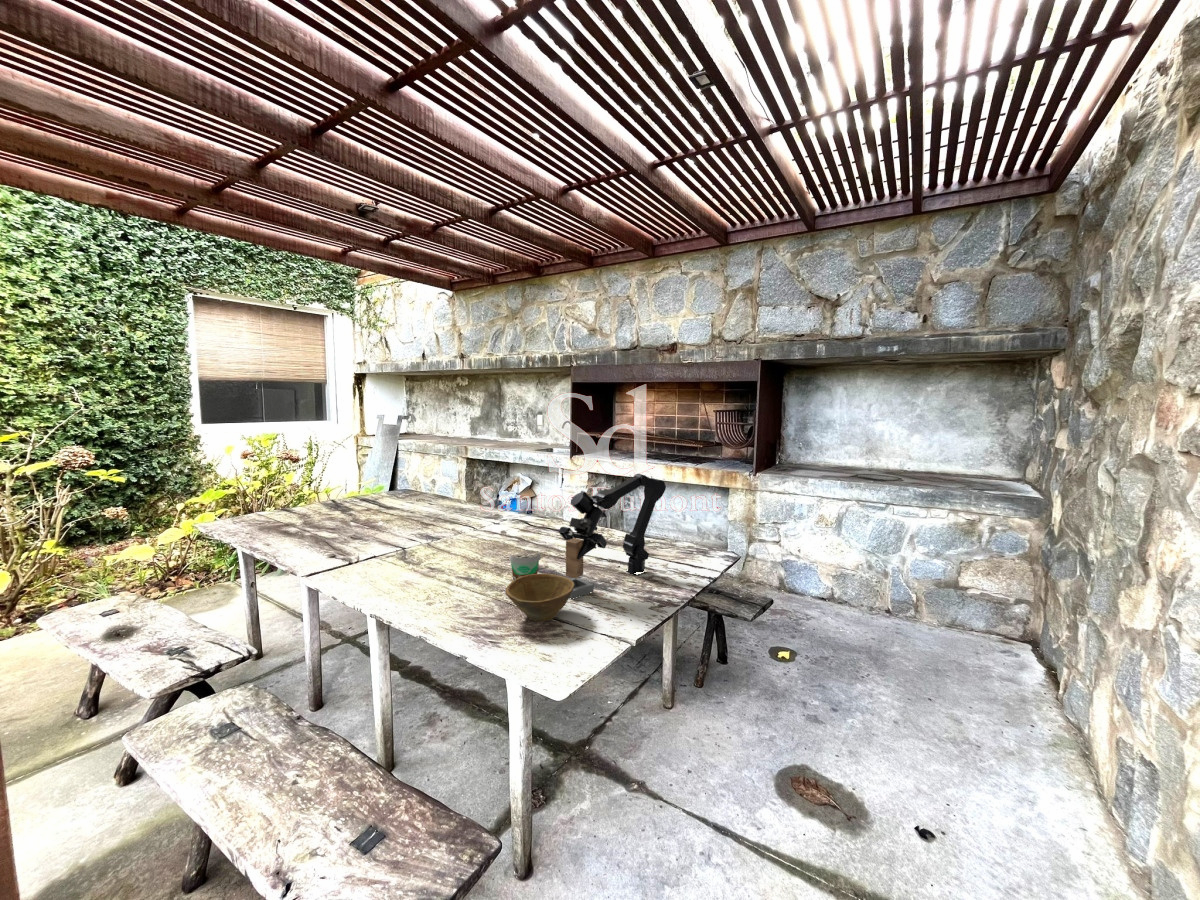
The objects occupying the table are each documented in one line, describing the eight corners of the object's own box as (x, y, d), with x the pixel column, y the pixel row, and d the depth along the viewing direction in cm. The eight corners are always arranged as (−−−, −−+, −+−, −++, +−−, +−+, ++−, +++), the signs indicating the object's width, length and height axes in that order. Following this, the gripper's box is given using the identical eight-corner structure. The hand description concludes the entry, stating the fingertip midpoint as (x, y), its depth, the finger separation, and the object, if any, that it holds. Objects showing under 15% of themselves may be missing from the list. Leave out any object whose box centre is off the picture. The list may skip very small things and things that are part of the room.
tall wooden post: (573, 572, 182) (573, 537, 181) (583, 574, 180) (583, 540, 178) (565, 575, 178) (565, 540, 177) (575, 578, 176) (575, 543, 174)
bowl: (492, 614, 160) (491, 585, 159) (547, 595, 176) (547, 568, 175) (532, 639, 145) (532, 606, 144) (589, 615, 161) (589, 585, 160)
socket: (576, 584, 187) (576, 576, 186) (593, 592, 179) (593, 584, 179) (555, 590, 180) (555, 583, 180) (571, 599, 173) (571, 591, 172)
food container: (510, 585, 185) (510, 559, 184) (509, 579, 191) (508, 554, 190) (543, 582, 188) (543, 557, 187) (540, 576, 194) (540, 552, 193)
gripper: (561, 505, 185) (542, 541, 177) (602, 512, 174) (584, 551, 166) (574, 521, 192) (556, 556, 184) (614, 529, 182) (597, 566, 174)
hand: (572, 557), depth 177 cm, fingers closed on tall wooden post, 4 cm apart
